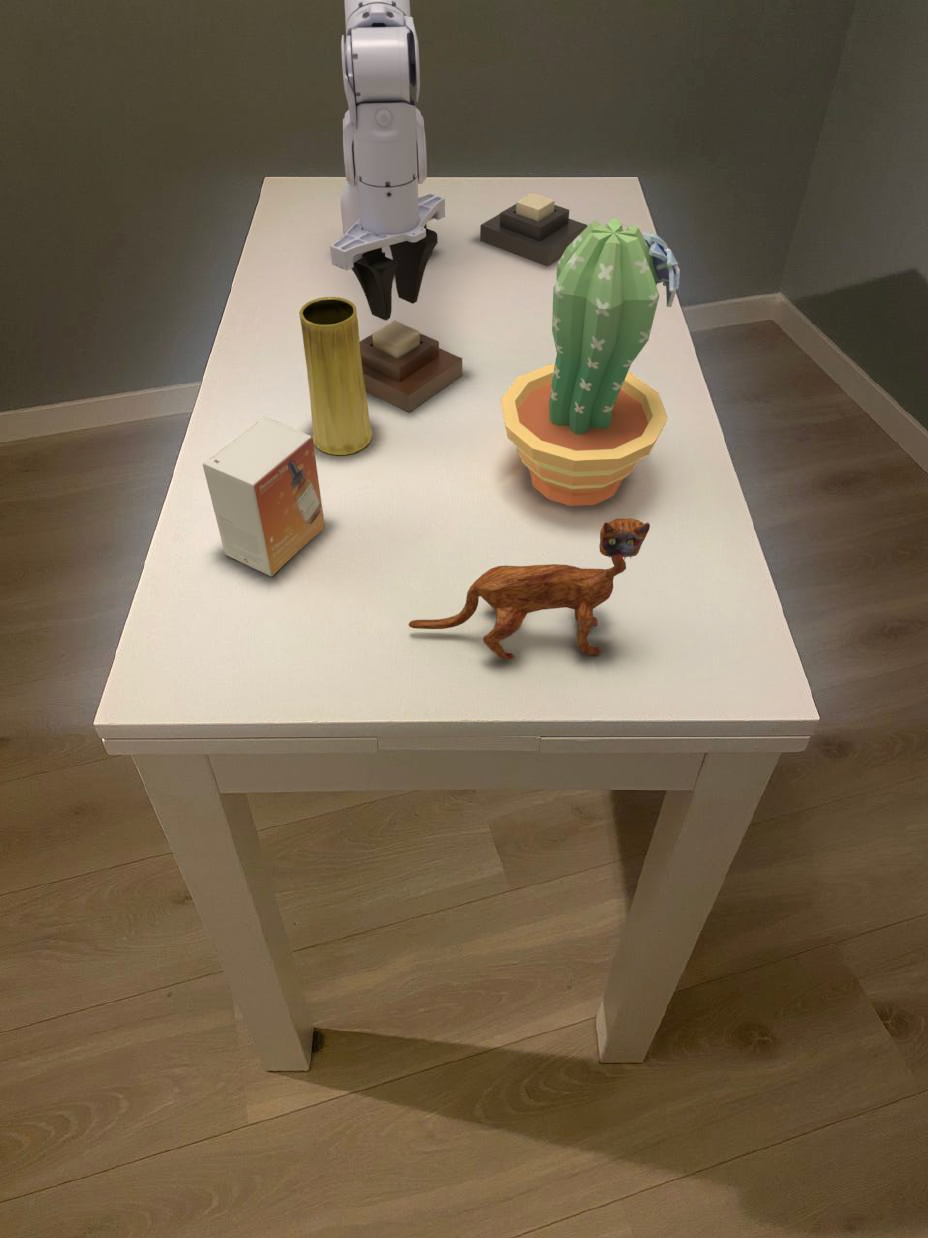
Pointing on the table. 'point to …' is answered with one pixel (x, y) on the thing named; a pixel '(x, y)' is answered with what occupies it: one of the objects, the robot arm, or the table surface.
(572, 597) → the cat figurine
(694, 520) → the table surface
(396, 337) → the front key
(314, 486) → the small box
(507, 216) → the block
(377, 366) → the front block
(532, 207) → the back key
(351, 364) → the vase
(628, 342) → the potted cactus
